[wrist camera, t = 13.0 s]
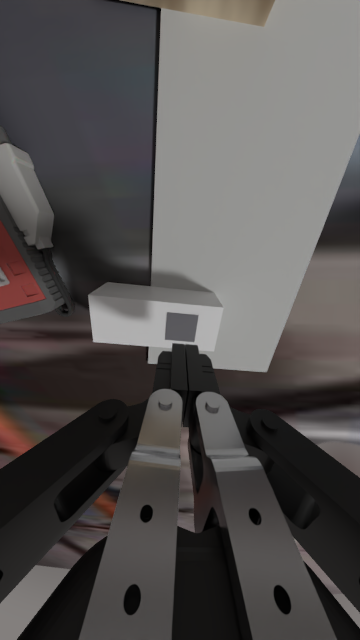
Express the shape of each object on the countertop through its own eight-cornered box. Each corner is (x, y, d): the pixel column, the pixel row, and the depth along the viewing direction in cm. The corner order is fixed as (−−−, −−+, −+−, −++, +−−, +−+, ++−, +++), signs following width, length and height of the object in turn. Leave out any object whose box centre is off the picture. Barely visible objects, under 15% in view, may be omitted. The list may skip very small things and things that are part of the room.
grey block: (223, 307, 14) (87, 295, 13) (214, 351, 15) (93, 342, 15) (213, 292, 17) (107, 282, 17) (207, 329, 19) (109, 320, 18)
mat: (514, -276, 7) (527, -296, 7) (265, 370, 22) (266, 372, 21) (176, -380, 7) (176, -406, 6) (148, 361, 21) (148, 363, 21)
